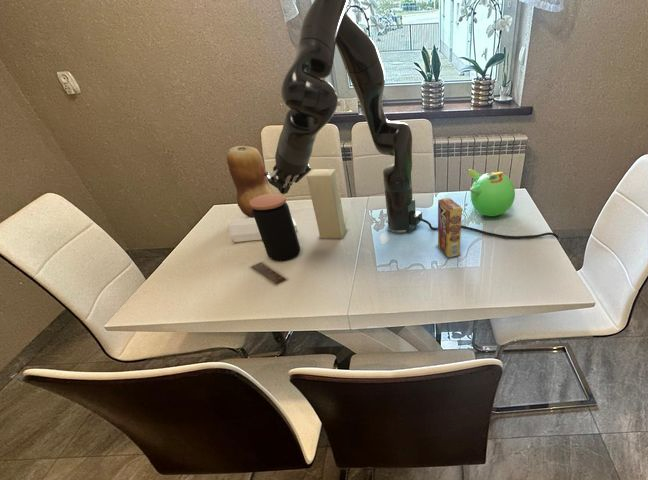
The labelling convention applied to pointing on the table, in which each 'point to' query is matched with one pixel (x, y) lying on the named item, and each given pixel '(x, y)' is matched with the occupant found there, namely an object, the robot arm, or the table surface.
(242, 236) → the crystal
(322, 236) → the beige tall block
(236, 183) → the butternut squash
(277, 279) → the walnut ruler
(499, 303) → the table surface
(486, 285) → the table surface
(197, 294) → the table surface
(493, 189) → the toy bird
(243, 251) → the table surface
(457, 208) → the candy box
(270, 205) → the coffee jar
